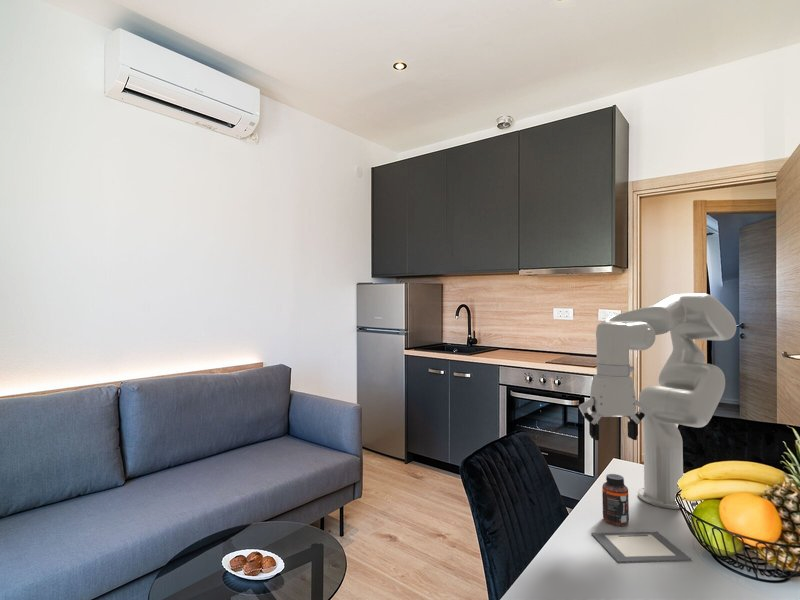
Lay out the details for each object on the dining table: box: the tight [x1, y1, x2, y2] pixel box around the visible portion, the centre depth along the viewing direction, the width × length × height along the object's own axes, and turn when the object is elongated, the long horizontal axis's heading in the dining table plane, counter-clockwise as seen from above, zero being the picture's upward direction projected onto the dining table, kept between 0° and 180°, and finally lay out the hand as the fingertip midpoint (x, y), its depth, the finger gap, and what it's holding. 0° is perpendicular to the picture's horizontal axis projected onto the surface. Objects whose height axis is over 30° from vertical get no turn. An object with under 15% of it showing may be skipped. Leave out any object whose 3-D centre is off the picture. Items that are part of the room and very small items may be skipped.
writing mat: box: [591, 530, 693, 564], centre depth 101 cm, size 16×12×1 cm
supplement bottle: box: [601, 473, 630, 527], centre depth 113 cm, size 6×6×11 cm
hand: (613, 438), depth 113 cm, fingers open, 9 cm apart
